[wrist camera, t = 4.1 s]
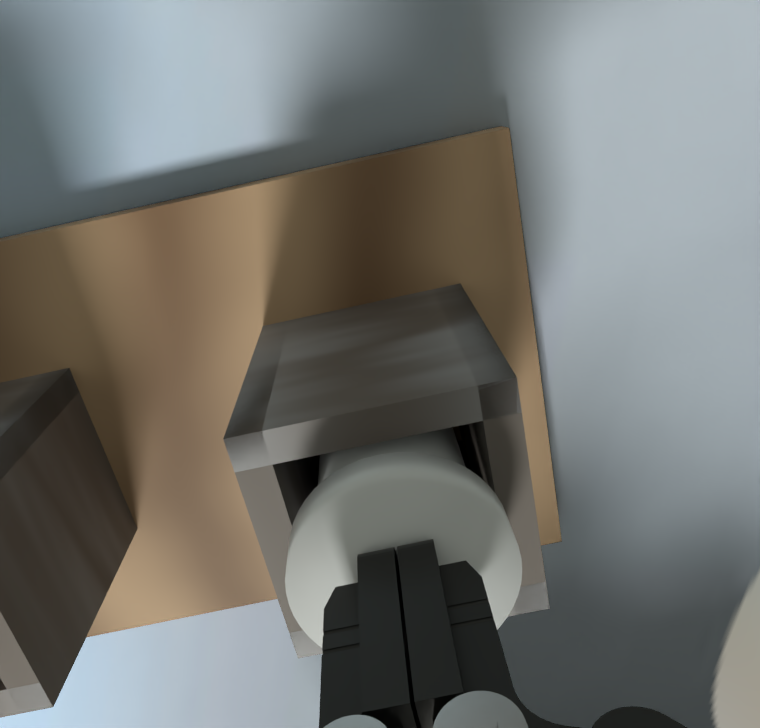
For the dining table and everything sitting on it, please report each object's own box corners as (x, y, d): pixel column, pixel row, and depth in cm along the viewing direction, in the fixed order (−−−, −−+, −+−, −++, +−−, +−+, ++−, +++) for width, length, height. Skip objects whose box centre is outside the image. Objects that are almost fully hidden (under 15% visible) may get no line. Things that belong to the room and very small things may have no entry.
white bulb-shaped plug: (444, 317, 19) (505, 456, 12) (468, 452, 21) (535, 646, 14) (289, 350, 20) (256, 508, 12) (326, 481, 21) (317, 689, 14)
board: (501, 125, 19) (600, 148, 12) (553, 524, 24) (644, 712, 17) (-229, 289, 20) (-573, 408, 12) (-24, 641, 25) (-178, 871, 18)
